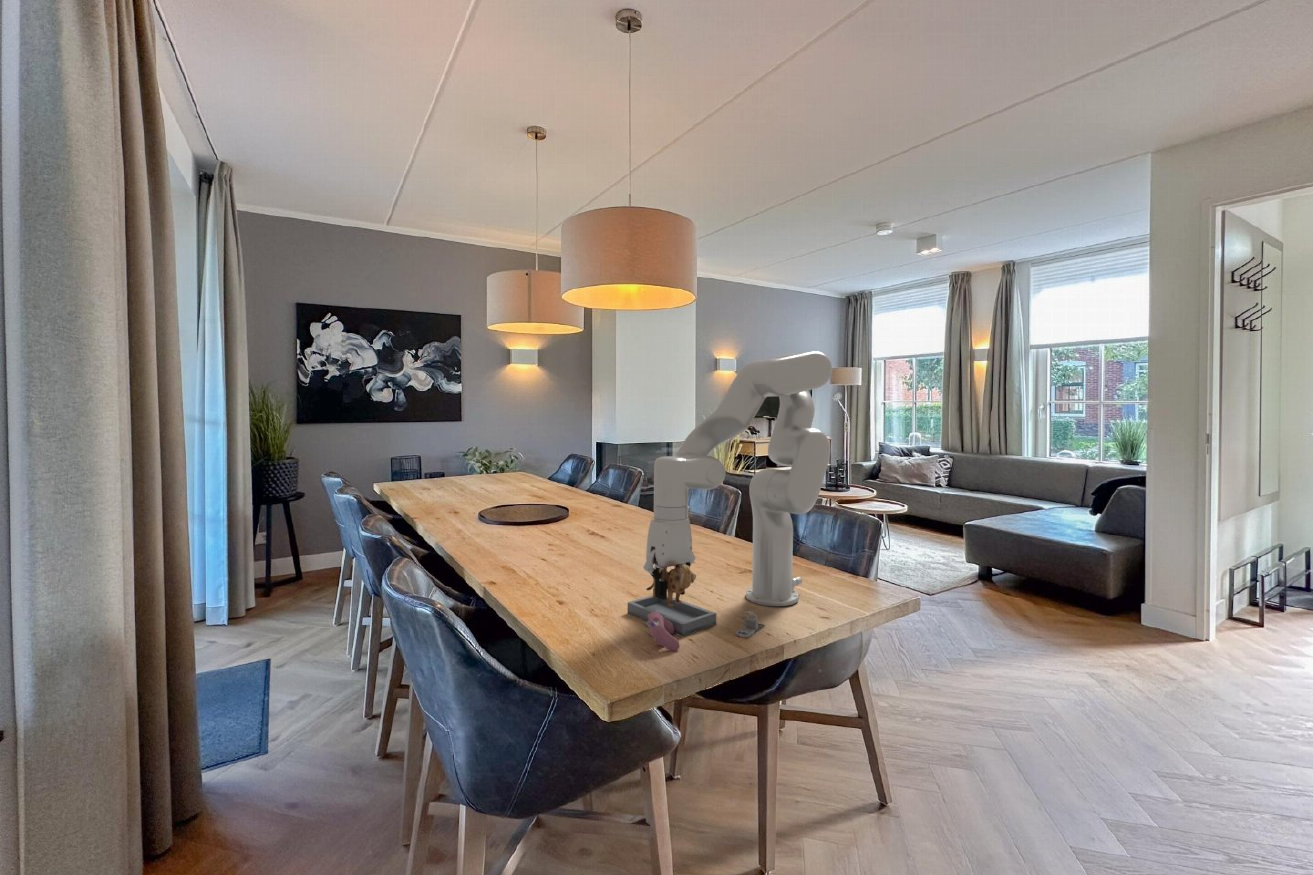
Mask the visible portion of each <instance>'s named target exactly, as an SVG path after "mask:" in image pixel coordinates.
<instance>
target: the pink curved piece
mask: <svg viewBox="0 0 1313 875" xmlns="http://www.w3.org/2000/svg"><path fill="white" fill-rule="evenodd" d="M647 617H648V622H647V621H646V626H647V627H648V629H649V631H650V634H651V636H652V638H653V639H654V642H655V643H656V644H657V645H658V647H663V648H665V649H666V650H669V651H672V652H675V651H678V650H680V646H681V645H680V644H681V643H680V641H679V640H678V639H677V638H676V637H674V636H673V635H672V634H675V633H674V631H675V628H674V626H673V624H672V623H671V622H669V621H668V620H666V619H665V618H664V617H663V616H662V615H661V614H660V613H659V612H657V610H656V612H651V613H649V614H648V615H647Z"/></svg>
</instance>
